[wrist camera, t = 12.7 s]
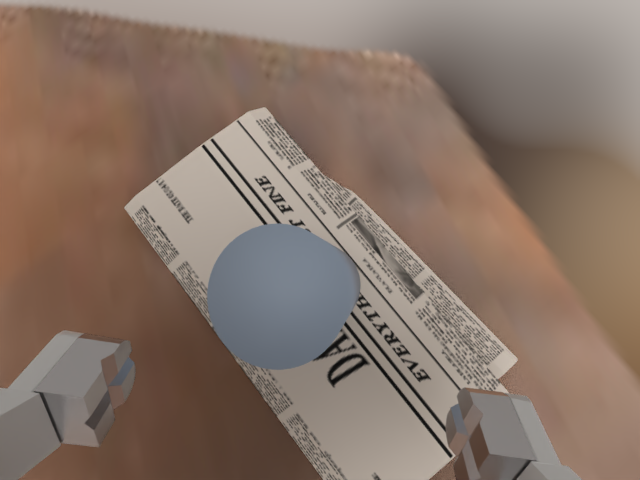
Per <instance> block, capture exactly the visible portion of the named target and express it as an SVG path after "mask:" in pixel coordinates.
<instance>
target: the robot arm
mask: <svg viewBox="0 0 640 480" xmlns="http://www.w3.org/2000/svg"><path fill="white" fill-rule="evenodd" d="M131 351H132V348H131V344H130V341H127V340H122V339H116V338H110V337H104V336H98V335H92V334H86V333H79V332H73V331H66V330H63V331H61V332H60V333H58V334H56V335H55V336H54V337H53V338H52V339H51V341H50V342H49V343H48V344H47V345H46V346H45V347H44V348H43V349H42V351H41V352H40V353H39V354H38V355H37V356H36V357H35V358H34V359H33V360H32V362H31V363H30V364H29V365H28V366H27V367H26V368H25V369H24V370H23V372H22V373H21V374H20V375H19V376H18V377H17V378H16V379H15V380H14V382H13V383H12V384H11V385H10V386H9V387H8V388H0V480H18V479H19V478H21V477H22V476H23V475H24V474H26V473H27V472H28V471H29V470H31V469H32V468H33V467H34V466H36V465H37V464H38V463H40V462H41V461H42V460H43V459H45V458H46V457H47V456H48V455H50V454H51V453H52V452H53V451H55V450H56V449H57V448H59V447H60V446H61V444H60V443H64V444H74V445H83V446H92V447H100V445H101V443H102V442H103V440H104V438H105V436H106V435H107V433H108V431H109V429H110V428H111V426H112V424H113V422H114V421H115V416H114V409H116V408H117V407H119V406H120V405H121V404H123V403H124V402H125V401H126V399H127V397H128V396H129V394H130V392H131V389H132V386H133V383H134V380H135V372H136V369H135V363H134V362H133V361H132V360H131V359H130V358H129V357H128V356H129V355H130V353H131ZM457 400H458V404H456V405H454V406H452V407H451V408H450V410H449V412H448V414H447V418H446V438H447V442H448V447H449V448H450V449H451V451H452V452H453V453H454V454H455V455H456V457H457V459H456V461H455V463H454V465H453V468H454V472H455V477H456V480H582V479H581V478H580V477H579V476H578V475H577V474H576V473H575V472H574V471H573V470H572V469H571V468H569V467H568V466H564V465H561V463H560V461H559V459H558V456H557V454H556V452H555V450H554V448H553V446H552V444H551V442H550V440H549V438H548V436H547V434H546V431H545V429H544V427H543V425H542V423H541V421H540V419H539V417H538V415H537V413H536V411H535V408H534V406H533V404H532V402H531V400H530V399H529V398H528V397H527V396H523V395H516V394H509V393H503V392H497V391H489V390H482V389H474V388H466V387H464V388H462V389H461V390H460V391H459V393H458V395H457Z"/></svg>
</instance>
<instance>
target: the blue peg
mask: <svg viewBox="0 0 640 480" xmlns="http://www.w3.org/2000/svg"><path fill="white" fill-rule="evenodd" d="M359 294H360V277H359V273H358V270H357V268H356V266H355V264H354V262H353V261H352V260H351V258H350V257H349V256H348V255H347V254H346V253H344V252H343V251H342V250H340V249H338V248H337V247H335V246H333V245H332V244H330V243H328V242H327V241H325V240H323V239H322V238H320V237H318V236H316V235H315V234H313V233H311V232H309V231H307V230H305V229H303V228H300V227H297V226H293V225H289V224H267V225H261V226H258V227H255V228H252V229H250V230H248V231H246V232H244V233H242V234H241V235H239V236H238V237H236V238H235V239H234V240H233V241H232V242H230V243H229V244H228V245H227V247H226V248H225V249H224V250H223V251H222V253H221V254H220V255H219V257H218V259H217V261H216V262H215V264H214V266H213V269H212V272H211V274H210V278H209V282H208V290H207V303H208V311H209V315H210V319H211V322H212V324H213V327H214V329H215V331H216V333H217V335H218V337H219V338H220V339H221V341H222V342H223V344H224V345H225V346H226V347H227V348H228V349H229V350H230V351H231V352H232V353H233V354H235V355H236V356H237V357H239V358H240V359H242V360H243V361H245V362H247V363H249V364H251V365H254V366H257V367H260V368H265V369H271V370H283V369H291V368H295V367H298V366H301V365H304V364H306V363H308V362H310V361H312V360H313V359H315V358H317V357H318V356H319V355H321V354H322V353H323V352H324V351H325V350H326V349H327V348H328V347H329V346H330V345H331V344H332V342H333V341H334V340H335V338H336V337H337V335H338V334H339V332H340V330H341V329H342V327H343V325H344V323H345V322H346V320H347V318H348V317H349V315H350V313H351V312H352V310H353V308H354V307H355V305H356V303H357V300H358V298H359Z"/></svg>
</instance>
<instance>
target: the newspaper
mask: <svg viewBox="0 0 640 480" xmlns="http://www.w3.org/2000/svg"><path fill="white" fill-rule="evenodd" d="M325 177H326V178H327V179H326V178H325ZM124 208H125V210H126V211H127V213H128V214H129V215H130V217H131V218H132V219H133V221H134V222H135V223H136V225H137V226H138V228H139V229H140V230H141V232H142V233H143V234H144V236H145V237H146V238H147V240H148V241H149V243H150V244H151V245H152V247H153V248H154V249H155V251H156V252H157V253H158V255H159V256H160V258H161V259H162V260H163V262H164V263H165V264H166V266H167V267H168V269H169V270H170V271H171V273H172V274H173V275H174V277H175V278H176V279H177V281H178V282H179V284H180V285H181V286H182V288H183V289H184V290H185V292H186V293H187V294H188V296H189V297H190V299H191V300H192V301H193V303H194V304H195V305H196V307H197V308H198V309H199V311H200V312H201V314H202V315H203V316H204V318H205V319H206V320H207V322H208V323H209V324H210V326H211V327H212V329H213V330H214V331H215V329H214V327H213V324H212V322H211V319H210V315H209V311H208V303H207V290H208V282H209V278H210V274H211V272H212V269H213V266H214V264H215V262H216V261H217V259H218V257H219V255H220V254H221V253H222V251H223V250H224V249H225V248H226V247H227V245H228V244H229V243H230V242H232V241H233V240H234V239H235V238H236V237H238V236H239V235H241V234H242V233H244V232H246V231H248V230H250V229H252V228H255V227H258V226H261V225H267V224H289V225H293V226H297V227H300V228H303V229H305V230H307V231H309V232H311V233H313V234H315V235H316V236H318V237H320V238H322V239H323V240H325V241H327V242H328V243H330V244H332V245H333V246H335V247H337V248H338V249H340V250H342V251H343V252H344V253H346V254H347V255H348V256H349V257H350V258H351V260H352V261H353V262H354V264H355V266H356V268H357V270H358V273H359V277H360V294H359V298H358V300H357V303H356V305H355V307H354V308H353V310H352V312H351V313H350V315H349V317H348V318H347V320H346V322H345V323H344V325H343V327H342V329H341V330H340V332H339V334H338V335H337V337H336V338H335V340H334V341H333V342H332V344H331V345H330V346H329V347H328V348H327V349H326V350H325V351H324V352H323V353H322V354H321V355H319V356H318V357H317V358H315V359H313V360H312V361H310V362H308V363H306V364H304V365H301V366H298V367H295V368H291V369H283V370H271V369H265V368H260V367H257V366H254V365H251V364H249V363H247V362H245V361H243V360H242V359H240V358H239V357H237V356H236V355H235V354H233V353H232V352H231V351H230V350H229V349H228V348H227V347H226V348H227V349H228V350H229V352H230V353H231V355H232V356H233V357H234V359H235V360H236V361H237V363H238V364H239V365H240V367H241V368H242V370H243V371H244V372H245V374H246V375H247V376H248V378H249V379H250V380H251V382H252V383H253V385H254V386H255V387H256V389H257V390H258V391H259V393H260V394H261V396H262V397H263V398H264V400H265V401H266V402H267V404H268V405H269V406H270V408H271V409H272V411H273V412H274V413H275V415H276V416H277V417H278V419H279V420H280V421H281V423H282V424H283V426H284V427H285V428H286V430H287V431H288V432H289V434H290V435H291V436H292V438H293V439H294V441H295V442H296V443H297V445H298V446H299V447H300V449H301V450H302V452H303V453H304V454H305V456H306V457H307V458H308V460H309V461H310V462H311V464H312V465H313V467H314V468H315V469H316V471H317V472H318V473H319V475H320V476H321V477H322V479H323V480H429V479H430V478H431V477H432V476H433V475H435V474H436V473H437V472H438V471H439V470H440V469H442V468H443V467H444V466H445V465H446V464H447V463H448V462H450V461H451V460H452V459H453V458H454V457H455V456H456V455H455V454H454V453H453V452H452V451H451V449H450V448H449V447H448V442H447V438H446V418H447V414H448V412H449V410H450V408H451V407H452V406H454V405H456V404H458V400H457V395H458V393H459V391H460V390H461V389H462V388H464V387H466V388H474V389H482V390H489V391H497V392H503V393H509V392H508V391H507V390H506V389H505V388H504V386H503V385H502V384H501V383H500V382H499V380H498V379H499V378H500V377H501V376H502V375H504V374H505V373H506V372H507V371H508V370H509V369H510V368H511V367H512V366H513V365H514V364H515V363H516V362H517V360H518V359H517V358H516V357H515V356H514V355H513V354H512V353H511V351H510V350H509V349H508V348H507V347H506V346H505V345H504V344H503V343H502V342H501V341H500V340H499V339H498V338H497V337H496V336H495V335H494V334H493V333H492V332H491V331H490V330H489V329H488V328H487V327H486V326H485V325H484V324H483V323H482V322H481V321H480V320H479V319H478V318H477V317H476V316H475V315H474V314H473V313H472V312H471V310H470V309H469V308H468V307H467V306H466V305H465V304H464V303H463V302H462V301H461V300H460V299H459V298H458V297H457V296H456V295H455V294H454V293H453V292H452V291H451V290H450V289H449V288H448V287H447V286H446V285H445V284H444V283H443V282H442V281H441V280H440V279H439V278H438V277H437V276H436V275H435V274H434V273H433V272H432V271H431V269H430V268H429V267H428V266H427V265H426V264H425V263H424V262H423V261H422V260H421V259H420V258H419V257H418V256H417V255H416V254H415V253H414V252H413V251H412V250H411V249H410V248H409V247H408V246H407V245H406V244H405V243H404V242H403V241H402V240H401V239H400V238H399V237H398V236H397V235H396V234H395V233H394V232H393V231H392V230H391V228H390V227H389V226H388V225H387V224H386V223H385V222H384V221H383V220H382V219H381V218H380V217H379V216H378V215H377V214H376V213H375V212H374V211H373V210H372V209H370V208H369V207H368V206H367V205H366V204H365V203H364V202H363V201H362V200H361V199H360V198H359V197H358V196H357V195H356V194H355V193H353V192H352V191H351V190H349V189H346V188H344V187H342V186H341V185H339V184H338V183H336V182H334V181H333V180H331V179H330V178H328V177H327V176H325V175H323V174H322V173H321V172H320V171H319V169H318V168H317V167H316V166H315V165H314V164H313V162H312V161H311V160H310V159H309V158H308V157H307V155H306V154H305V153H304V152H303V151H302V150H301V148H300V147H299V146H298V145H297V144H296V143H295V141H294V140H293V139H292V138H291V137H290V136H289V134H288V133H287V132H286V131H285V130H284V129H283V127H282V126H281V125H280V124H279V123H278V121H277V120H276V119H275V118H274V117H273V116H272V114H271V113H270V112H269V111H268V110H267V109H266V108H265V107H263V108H259V109H255V110H252V111H248V112H247V113H246V114H244V115H243V116H241V117H240V118H238V119H237V120H236V121H234V122H233V123H231V124H230V125H229V126H227V127H226V128H224V129H223V130H221V131H220V132H219V133H217V134H216V135H214V136H213V137H212V138H210V139H209V140H207V141H206V142H204V143H203V144H202V145H200V146H199V147H197V148H196V149H195V150H194V151H192V152H191V153H190V154H188V155H187V156H186V157H185V158H183V159H182V160H181V161H179V162H178V163H177V164H176V165H174V166H173V167H172V168H170V169H169V170H168V171H167V172H165V173H164V174H163V175H161V176H160V177H159V178H158V179H156V180H155V181H154V182H152V183H151V184H150V185H149V186H147V187H146V188H145V189H143V190H142V191H141V192H139V193H138V194H137V195H136V196H134V198H133V199H132V200H131V201H130V202H129V203H128V204H127V205H126V206H125V207H124ZM215 333H216V331H215ZM216 334H217V333H216ZM220 340H221V339H220ZM509 394H510V393H509Z"/></svg>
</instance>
